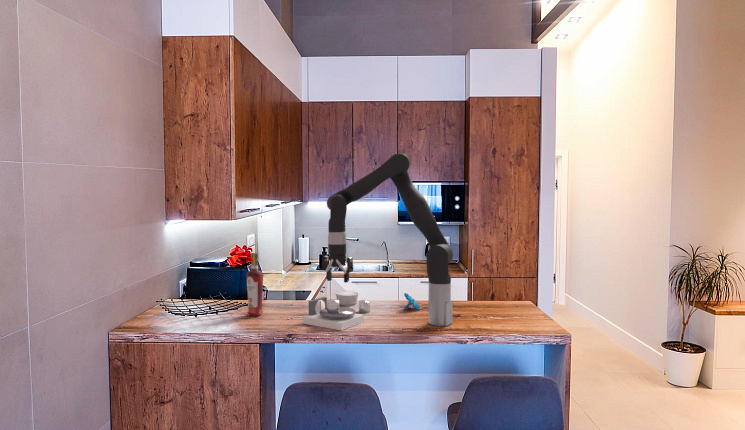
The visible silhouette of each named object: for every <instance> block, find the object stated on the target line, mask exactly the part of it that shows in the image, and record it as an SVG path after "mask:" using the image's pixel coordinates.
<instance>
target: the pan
mask: <svg viewBox="0 0 745 430" xmlns="http://www.w3.org/2000/svg"><path fill="white" fill-rule="evenodd" d="M355 313H356V309H354V308H351V307H345V306H339V313H338V314H328V313H327V308H325V309H322V310H320V315H321V316H323V317H329V318H344V317H350V316H353V315H355Z"/></svg>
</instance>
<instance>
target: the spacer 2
mask: <svg viewBox="0 0 745 430" xmlns="http://www.w3.org/2000/svg"><path fill="white" fill-rule="evenodd" d="M370 303H371V301H370V300H368V299H360V300H358V314H368V313H370V312H371V307H370V306H371V305H370Z"/></svg>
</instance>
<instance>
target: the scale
mask: <svg viewBox="0 0 745 430" xmlns="http://www.w3.org/2000/svg"><path fill="white" fill-rule="evenodd" d="M327 300H328V297H326V296H322V297H319V298H314V299H311V300H308V314H306V315H303V317H302V323H303V324H305V325H311V326H315V327H321V328H327V329H333V330H338V331H344V330H346V329H349V328H351V327H354V326H357V325H359V324H362V323H364V322H365V315H364V314H363V313H356V312H355V315H353V316H350V317H344V318H329V317H323V316H321V315H320V310H322V309H325V308H327Z"/></svg>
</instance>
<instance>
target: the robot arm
mask: <svg viewBox="0 0 745 430" xmlns="http://www.w3.org/2000/svg"><path fill="white" fill-rule="evenodd" d="M410 165H411V161H410V158H409V156H407V155H406V154H405V153H402V152H400V153H398V152H397V153H394V154H392V155H391V156H390V157H389V158H388V159H387V160H386V161H385V162H384V163H382V164H381V165H380V166H378V167H377V168H376V169H374V170H373V171H371V172H369V173H368V174H366V175H364V176H363V177H361V178H360V179H357V180H356V181H355V182H353V183H352V184H350V185H348V186H347V187H345V188H343V189H341V190H339V191H337V192H335V193H334V194H332V195H330V196H329V197H328V198H327V199H326V200H327V201H326V206H327V208H328V209H329V210H330V211H329V212H330V214H329V216H330V217H329V219H328V227H327V228H328V236H327V251H328V252H327V254H328V255H323V256H322V259H321V260H322V263H321V270H322V271H325V272H326V280H327V281H328V282H331V281H332V280H333V279H332V277H333V276H332V271H333V268H340V269H341V270H342V271H343V282H344V283H346V284H347V283H349V282H350V273H352V272H354V262H353V261H354V260H353V257H352V256H351V257H347V234H346V218H347V209H348V206H349V204H351V203H353V202H354V203H355V202H357V201H358V200H360V199H361V198H364V197H365V196H367V195H368V194H370V193H371V192H372V191H373V190H375V189H376V188H377V187H378V186H380V185H381V184H382V183H384V182H385V181H387V180H388V179H390V180H391V181H392V183H393V184H394V186H395V188H396V189H397V191H398V193H399V195H400V198H401V200H402V203H403V205H404V207H405V209H406V211H407V214H408V215H409V218H410V220H411V222H412V223H413V224H414V226H415V227H416V228H417V229H418V230H419V232H420V233H421V235H423V236H424V238H425V240H426V242H427V244H428V246H429V248H428V251H427V253H426V274H427V275H426V276H427V279H428V306H427V307H428V310H427V311H428V321H427V322H428V324H429V325H432V326H440V327H444V326H445V327H447V326H449V325H451V324H453V311H454V310H453V306H454V305H453V304H454V302H453V300H452V299H451V298H452V297H451V296H452V295H451V292H452V291H451V290H452V289H451V288H452V286H451V285H452V284H451V283H452V277H451V275H450V274H449V264H450V263H451V262H452V260H453V258H454V252H453V249H452V247H451V245H450V244H449V242H448V241H447V239H446V237H445V236H444V235H443V233H442V231H441V229H440V227H439V224H438V222H437V220H436V218H435V216H434V214H433V212H432V209H431V207H430V205H429V203H428V201H427V200H426V198H425V197H424V195H423V194H422V193H421V192H420V191H419V189H418V188H417V187H416V186H415V185H414V183H413V181H412V179H411V177H410V175H409V171H408V170H409V168H410Z"/></svg>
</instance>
